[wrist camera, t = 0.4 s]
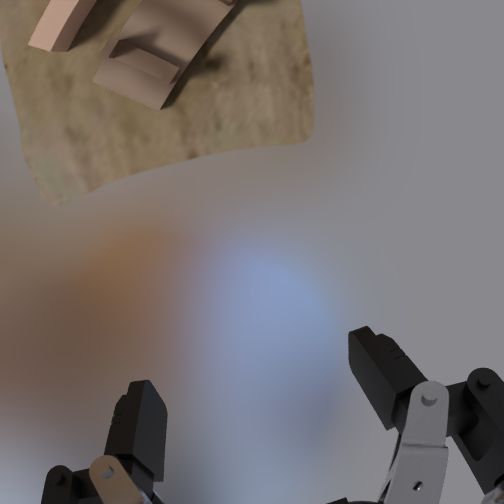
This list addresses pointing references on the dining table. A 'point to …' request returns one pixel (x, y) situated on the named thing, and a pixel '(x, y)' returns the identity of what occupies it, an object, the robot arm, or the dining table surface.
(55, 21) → the clay bar
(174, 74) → the brown cradle stand
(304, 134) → the dining table surface
